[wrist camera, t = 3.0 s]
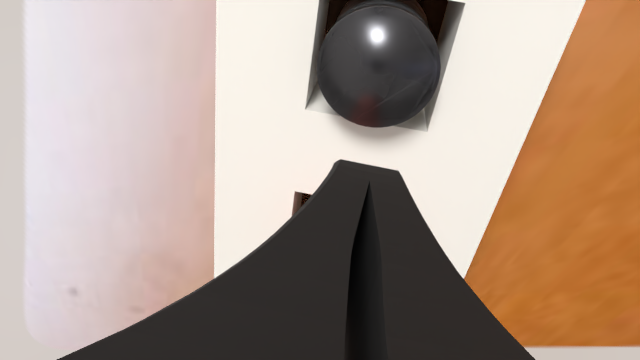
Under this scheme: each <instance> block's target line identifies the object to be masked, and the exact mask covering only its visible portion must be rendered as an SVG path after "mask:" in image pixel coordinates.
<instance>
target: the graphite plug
mask: <svg viewBox="0 0 640 360" xmlns="http://www.w3.org/2000/svg"><path fill="white" fill-rule="evenodd" d="M440 70H441V64H440V55H439V51H438V47H437V44H436V41H435V38H434V36H433V34H432V33H431V31H430V28H429V24H428V20H427V17H426V15H425V13H424V11H423V9H422V7H421V6H420V5H419V3H418V2H417V1H416V0H350V1H349V2H348V3H347V4H346V5H345V6H344V7H343V9H342V10H341V12H340V14H339V16H338V18H337V20H336V22H335V24H334V25H333V26H332V28H331V29H330V30H329V32H328V33H327V35H326V37H325V39H324V41H323V43H322V45H321V48H320V51H319V54H318V59H317V79H318V84H319V87H320V90H321V92H322V94H323V96H324V98H325V100H326V101H327V103H328V104H329V105H330V106H331V108H332V109H333V110H334V111H335V112H337V113H338V114H339V115H340V116H342V117H343V118H345V119H346V120H348V121H350V122H352V123H355V124H358V125H361V126H365V127H373V128H382V127H389V126H394V125H397V124H400V123H403V122H405V121H407V120H409V119H410V118H412V117H413V116H415V115H416V114H418V113H419V112H420V111H421V110H422V109H423V108H424V107H425V106H426V105H427V104H428V102H429V101H430V99H431V98H432V96H433V94H434V92H435V91H436V88H437V85H438V82H439V78H440Z"/></svg>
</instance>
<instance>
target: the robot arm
mask: <svg viewBox="0 0 640 360" xmlns="http://www.w3.org/2000/svg"><path fill="white" fill-rule="evenodd" d="M57 360H535V359H534V358H533V357H532V356H531V355H530V354H529V353H528V352H527V351H526V350H525V348H524V347H523V346H522V345H521V344H520V343H519V342H518V341H517V340H516V339H515V338H514V337H513V336H512V335H511V334H510V333H509V332H508V331H507V330H506V329H505V328H504V327H503V326H502V324H501V323H500V322H499V321H498V320H497V319H496V318H495V317H494V316H493V314H492V313H491V312H490V311H489V310H488V308H487V307H486V306H485V305H484V304H483V302H482V301H481V300H480V299H479V298H478V296H477V295H476V294H475V293H474V292H473V290H472V289H471V288H470V287H469V286H468V284H467V283H466V282H465V280H464V279H463V278H462V277H461V275H460V274H459V273H458V271H457V270H456V268H455V267H454V265H453V264H452V263H451V261H450V260H449V258H448V257H447V255H446V254H445V252H444V251H443V249H442V248H441V246H440V245H439V243H438V241H437V240H436V238H435V236H434V235H433V233H432V231H431V230H430V228H429V226H428V225H427V223H426V221H425V220H424V218H423V216H422V214H421V213H420V211H419V209H418V207H417V205H416V203H415V201H414V199H413V198H412V196H411V194H410V192H409V190H408V188H407V186H406V183H405V181H404V179H403V177H402V175H401V174H400V172H399V171H398V170H393V169H388V168H383V167H378V166H373V165H368V164H363V163H357V162H352V161H347V160H342V159H340V160H338V161H336V162H335V163H334V164H333V167H332V168H331V170H330V172H329V173H328V175H327V176H326V178H325V179H324V181H323V182H322V183H321V185H320V186H319V187H318V188H317V190H316V191H315V192H314V193H313V194H312V195H311V197H310V198H309V199H308V200H307V201H306V202H305V203H304V205H303V206H302V207H301V208H300V209H299V210H298V211H297V212H296V213H295V214H294V215H293V216H292V217H291V218H290V219H289V220H288V221H287V222H286V223H285V224H283V225H282V226H281V227H280V228H279V229H278V230H277V231H276V232H275V233H274V234H273V235H272V236H270V237H269V238H268V239H267V240H266V241H265V242H263V243H262V244H261V245H260V246H259V247H257V248H256V249H255V250H253V251H252V252H251V253H250V254H248V255H247V256H246V257H244V258H243V259H242V260H240V261H239V262H238V263H236V264H235V265H233V266H232V267H230V268H229V269H227V270H226V271H225V272H223V273H222V274H220V275H219V276H217V277H216V278H214V279H213V280H211V281H210V282H208V283H207V284H205V285H203V286H202V287H200V288H199V289H197V290H195V291H194V292H192V293H190V294H189V295H187V296H185V297H183V298H181V299H180V300H178V301H176V302H174V303H172V304H171V305H169V306H167V307H165V308H163V309H162V310H160V311H158V312H156V313H154V314H153V315H151V316H149V317H147V318H145V319H143V320H142V321H140V322H138V323H136V324H134V325H132V326H130V327H128V328H126V329H124V330H122V331H119V332H117V333H115V334H113V335H111V336H108V337H106V338H104V339H102V340H99V341H97V342H95V343H93V344H91V345H88V346H86V347H84V348H82V349H80V350H77V351H75V352H73V353H71V354H69V355H66V356H64V357H62V358H60V359H57Z"/></svg>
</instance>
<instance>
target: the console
mask: <svg viewBox="0 0 640 360" xmlns="http://www.w3.org/2000/svg"><path fill="white" fill-rule="evenodd" d="M329 1H330V0H216V103H215V231H214V278H216V277H217V276H219V275H220V274H222V273H223V272H225V271H226V270H227V269H229V268H230V267H232V266H233V265H235V264H236V263H238V262H239V261H240V260H242V259H243V258H244V257H246V256H247V255H248V254H250V253H251V252H252V251H253V250H255V249H256V248H257V247H259V246H260V245H261V244H262V243H263V242H265V241H266V240H267V239H268V238H269V237H270V236H272V235H273V234H274V233H275V232H276V231H277V230H278V229H279V228H280V227H281V226H282V225H283V224H285V223H286V222H287V221H288V220H289V219H290V218H291V217H292V216H293V215H294V214H295V213H296V212H297V211H298V210H299V209H300V208H301V201H302V194H303V193H307V194H313V193H314V192H315V191H316V190H317V188H318V187H319V186H320V185H321V183H322V182H323V181H324V179H325V178H326V176H327V175H328V173H329V172H330V170H331V168H332V167H333V164H334V163H335V162H336V161H338V160H340V159H342V160H347V161H352V162H357V163H363V164H368V165H373V166H378V167H383V168H388V169H393V170H398V171H399V172H400V174H401V175H402V177H403V179H404V181H405V183H406V186H407V188H408V190H409V192H410V194H411V196H412V198H413V199H414V201H415V203H416V205H417V207H418V209H419V211H420V213H421V214H422V216H423V218H424V220H425V221H426V223H427V225H428V226H429V228H430V230H431V231H432V233H433V235H434V236H435V238H436V240H437V241H438V243H439V245H440V246H441V248H442V249H443V251H444V252H445V254H446V255H447V257H448V258H449V260H450V261H451V263H452V264H453V265H454V267H455V268H456V270H457V271H458V273H459V274H460V275H461V277H462V278H463V279H464V277H465V275H466V273H467V270H468V268H469V266H470V264H471V261H472V259H473V257H474V254H475V252H476V250H477V248H478V245H479V243H480V241H481V238H482V236H483V234H484V232H485V229H486V227H487V225H488V222H489V220H490V218H491V216H492V213H493V211H494V209H495V206H496V204H497V202H498V200H499V197H500V195H501V193H502V190H503V188H504V186H505V184H506V181H507V179H508V177H509V174H510V172H511V170H512V168H513V165H514V163H515V161H516V158H517V156H518V154H519V152H520V149H521V147H522V145H523V143H524V140H525V138H526V136H527V133H528V131H529V129H530V127H531V124H532V122H533V120H534V117H535V115H536V113H537V111H538V108H539V106H540V104H541V101H542V99H543V97H544V95H545V92H546V90H547V88H548V85H549V83H550V81H551V79H552V76H553V74H554V72H555V69H556V67H557V65H558V63H559V60H560V58H561V56H562V53H563V51H564V49H565V47H566V44H567V42H568V40H569V37H570V35H571V33H572V31H573V28H574V26H575V24H576V21H577V19H578V17H579V15H580V12H581V10H582V8H583V6H584V3H585V1H586V0H448V4H447V8H446V11H445V15H444V18H443V22H442V26H441V29H440V33H439V36H438V40H437V47H438V51H439V55H440V64H441V70H440V78H439V82H438V85H437V88H436V91H435V92H434V94H433V96H432V98H431V99H430V101H429V102H428V104H427V105H426V106H425V107H424V108H423V109H422V110H421V111H420V112H419V113H418V114H416V115H415V116H413V117H412V118H410V119H409V120H407V121H405V122H403V123H400V124H397V125H394V126H389V127H382V128H373V127H365V126H361V125H358V124H355V123H352V122H350V121H348V120H346V119H345V118H343V117H342V116H340V115H339V114H338V113H337V112H335V111H334V110H333V109H332V108H331V106H330V105H329V104H328V103H327V101H326V100H325V98H324V96H323V94H322V92H321V90H320V87H319V84H318V79H317V59H318V54H319V51H320V48H321V45H322V43H323V41H324V36H325V29H326V22H327V15H328V8H329Z"/></svg>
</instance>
